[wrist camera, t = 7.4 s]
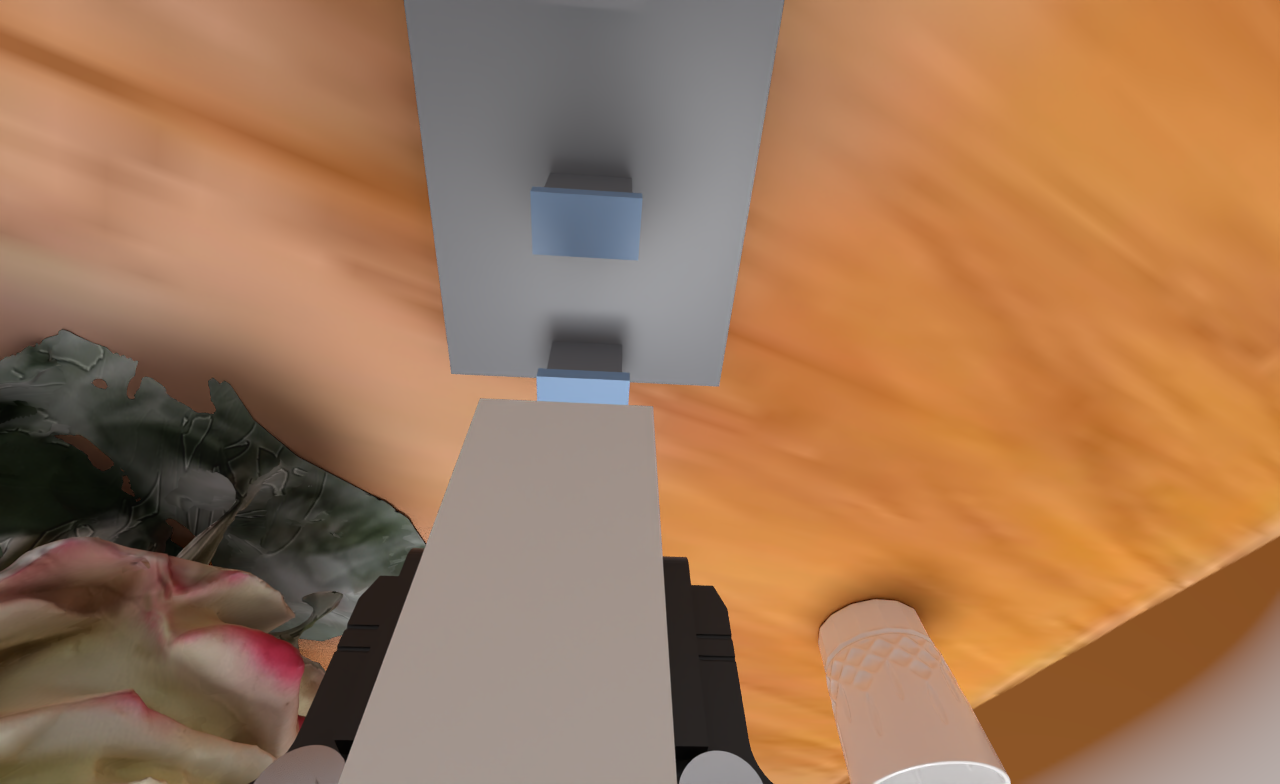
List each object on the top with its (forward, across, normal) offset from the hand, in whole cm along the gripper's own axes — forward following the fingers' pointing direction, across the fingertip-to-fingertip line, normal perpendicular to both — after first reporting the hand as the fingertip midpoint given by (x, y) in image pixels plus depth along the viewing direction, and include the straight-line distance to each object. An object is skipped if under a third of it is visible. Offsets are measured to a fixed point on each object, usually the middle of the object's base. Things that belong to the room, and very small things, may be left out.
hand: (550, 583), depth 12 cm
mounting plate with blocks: (+16, 0, -7) cm, 17 cm away
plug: (+4, 0, 0) cm, 4 cm away
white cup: (+16, -19, +24) cm, 35 cm away
